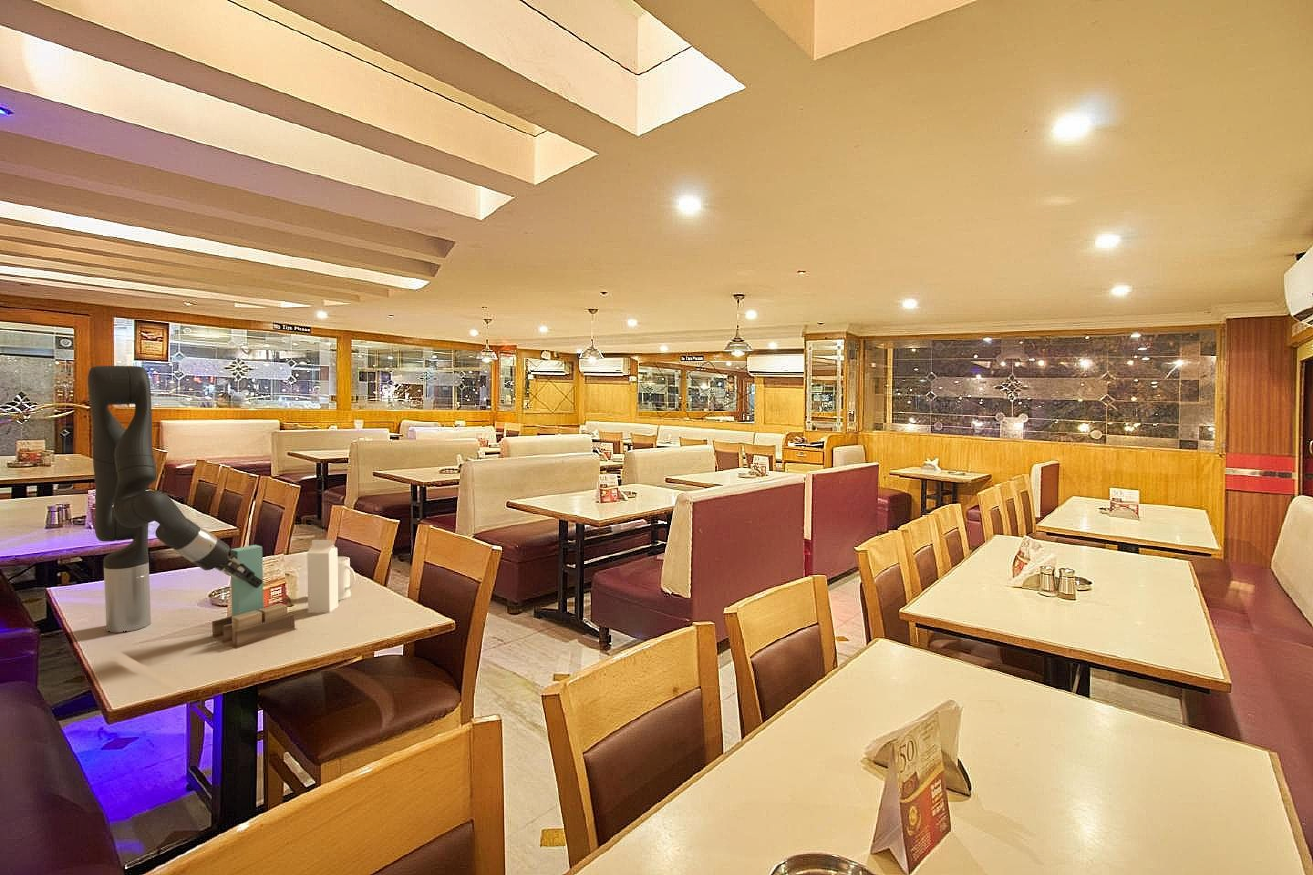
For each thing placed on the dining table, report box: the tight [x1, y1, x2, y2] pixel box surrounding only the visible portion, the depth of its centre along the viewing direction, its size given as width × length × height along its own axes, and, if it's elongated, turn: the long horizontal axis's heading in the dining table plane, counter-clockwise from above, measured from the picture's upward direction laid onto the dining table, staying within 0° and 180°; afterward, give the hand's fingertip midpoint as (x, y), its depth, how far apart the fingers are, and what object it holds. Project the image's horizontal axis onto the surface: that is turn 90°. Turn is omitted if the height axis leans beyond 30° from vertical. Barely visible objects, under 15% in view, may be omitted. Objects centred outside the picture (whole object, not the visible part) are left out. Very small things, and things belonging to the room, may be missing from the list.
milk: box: [306, 539, 339, 614], centre depth 179 cm, size 6×6×22 cm
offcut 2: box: [259, 603, 288, 623], centre depth 162 cm, size 3×6×6 cm, turn 150°
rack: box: [210, 605, 298, 650], centre depth 161 cm, size 13×15×6 cm
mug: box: [338, 556, 357, 602], centre depth 193 cm, size 12×8×12 cm
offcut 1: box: [232, 610, 262, 643], centre depth 156 cm, size 3×6×6 cm, turn 150°
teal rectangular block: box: [229, 544, 264, 617], centre depth 161 cm, size 4×6×22 cm, turn 150°
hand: (255, 583), depth 163 cm, fingers closed on teal rectangular block, 3 cm apart
